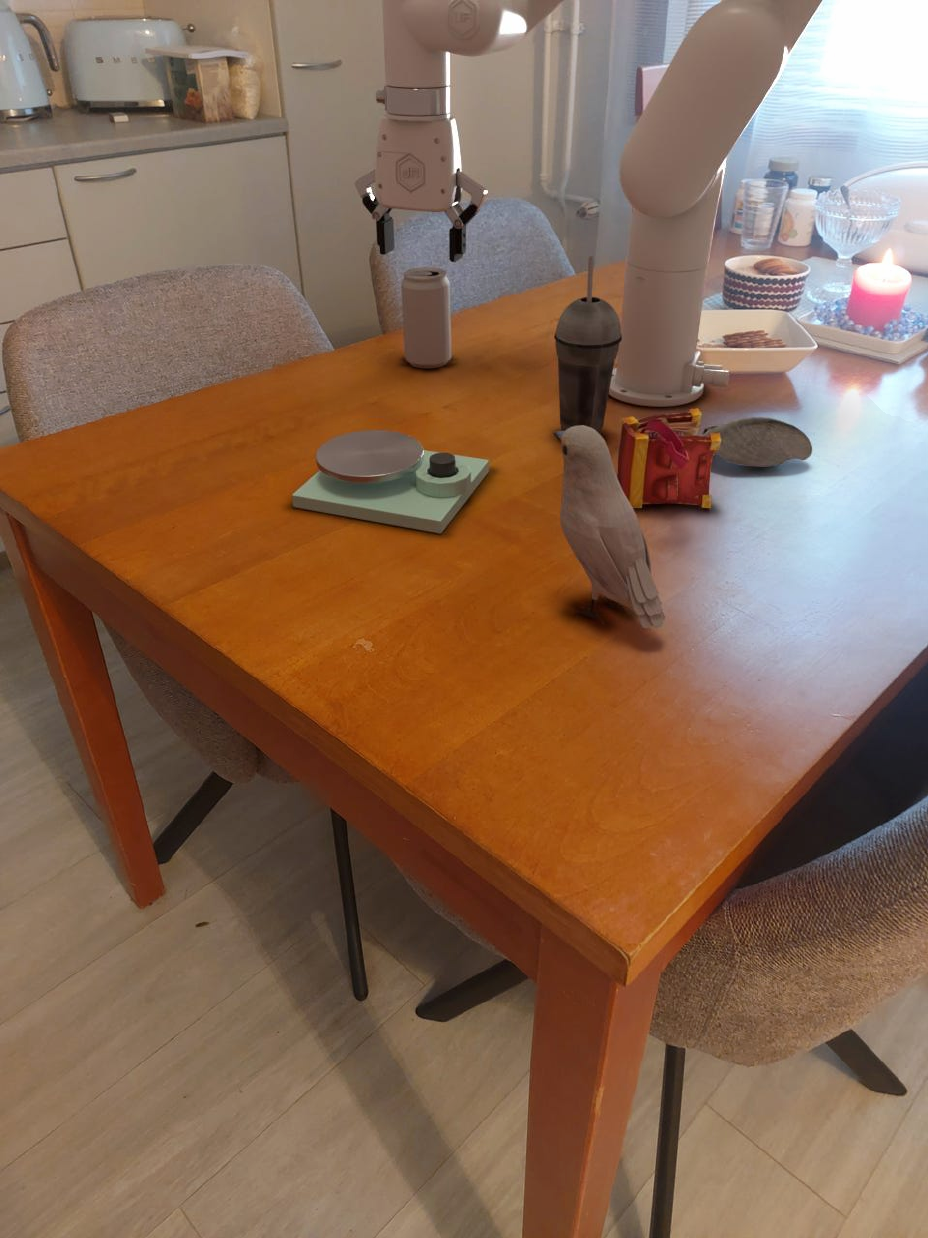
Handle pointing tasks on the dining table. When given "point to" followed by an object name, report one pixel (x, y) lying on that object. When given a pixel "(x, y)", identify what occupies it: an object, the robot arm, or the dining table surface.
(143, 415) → the dining table surface
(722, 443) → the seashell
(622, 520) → the bird
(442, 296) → the beverage can
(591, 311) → the beverage cup
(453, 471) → the button
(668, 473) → the book monster
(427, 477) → the scale
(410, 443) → the scale pan
